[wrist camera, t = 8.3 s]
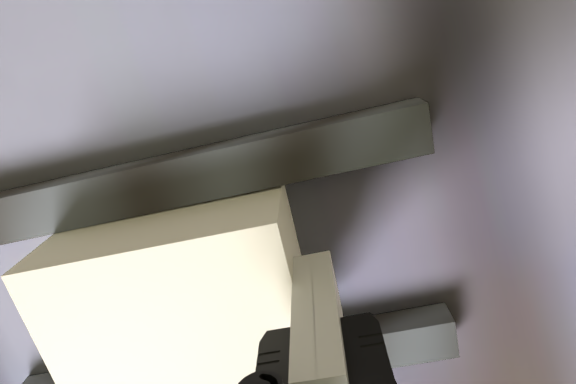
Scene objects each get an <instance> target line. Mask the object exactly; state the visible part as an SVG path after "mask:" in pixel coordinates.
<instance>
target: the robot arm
mask: <svg viewBox="0 0 576 384" xmlns="http://www.w3.org/2000/svg"><path fill="white" fill-rule="evenodd" d="M256 365H257V366H256V369H255V372H254V373H251V374H249V375H248V376H246V377H244V378H243V379H242V380H241V381H240V382H239V383H238V384H397V383H396V381H395V379H394V375H393V371H392V368H391V364H390V360H389V357H388V353H387V349H386V346H385V342H384V338H383V335H382V331H381V327H380V323H379V321H378V320H377V319H376V318H375V317H374V316H373V315H372V314H371V313H364V314H358V315H352V316H346V317H343V312H342V306H341V301H340V297H339V292H338V287H337V282H336V278H335V273H334V268H333V264H332V259H331V254H330V250H329V251H324V252H318V253H313V254H308V255H302V256H297V257H293V280H292V296H291V323H290V327H287V328H281V329H275V330H269V331H266V333H265V334H264V336H263V337H262V339H261V340H260V342H259V347H258V356H257V362H256Z"/></svg>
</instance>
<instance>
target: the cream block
mask: <svg viewBox="0 0 576 384" xmlns="http://www.w3.org/2000/svg"><path fill="white" fill-rule="evenodd" d="M297 256H301V252H300V247H299V243H298V239H297V235H296V230H295V226H294V222H293V218H292V214H291V209H290V205H289V201H288V197H287V193H286V188H285V185H282V186H277V187H273V188H268V189H263V190H259V191H254V192H249V193H244V194H240V195H235V196H230V197H225V198H221V199H216V200H211V201H207V202H202V203H197V204H192V205H188V206H183V207H178V208H174V209H169V210H164V211H159V212H155V213H150V214H145V215H140V216H136V217H131V218H126V219H122V220H117V221H112V222H107V223H103V224H98V225H93V226H88V227H84V228H79V229H74V230H70V231H65V232H60V233H55V234H53V235H52V236H51V237H49V238H48V239H47V240H46V241H44V242H43V243H42V244H41V245H39V246H38V247H37V248H36V249H34V250H33V251H32V252H31V253H29V254H28V255H27V256H26V257H24V258H23V259H22V260H21V261H20V262H18V263H17V264H16V265H15V266H13V267H12V268H11V269H10V270H8V271H7V272H6V273H5V274H3V275H2V276H1V278H2V280H3V282H4V284H5V286H6V288H7V290H8V292H9V294H10V296H11V298H12V299H13V301H14V303H15V305H16V307H17V309H18V311H19V313H20V315H21V317H22V319H23V321H24V323H25V325H26V327H27V329H28V331H29V333H30V335H31V337H32V339H33V341H34V343H35V345H36V347H37V349H38V351H39V353H40V355H41V357H42V359H43V361H44V363H45V365H46V367H47V369H48V370H49V372H50V374H51V376H52V378H53V380H54V382H55V384H238V383H239V382H240V381H241V380H242V379H243V378H244V377H246V376H248V375H249V374H251V373H254V372H255V369H256V366H257V365H256V362H257V356H258V347H259V342H260V340H261V339H262V337H263V336H264V334H265V333H266V331H269V330H275V329H281V328H287V327H290V323H291V296H292V280H293V257H297Z"/></svg>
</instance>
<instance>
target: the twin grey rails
mask: <svg viewBox="0 0 576 384" xmlns="http://www.w3.org/2000/svg"><path fill="white" fill-rule="evenodd" d="M433 153H434V145H433V137H432V128H431V120H430V112H429V104H428V102H426V101H424V100H422V99H420V98H418V97H417V98H413V99H408V100H404V101H399V102H395V103H391V104H386V105H382V106H377V107H373V108H368V109H364V110H360V111H355V112H351V113H346V114H342V115H337V116H333V117H329V118H324V119H320V120H315V121H311V122H306V123H302V124H298V125H293V126H289V127H284V128H280V129H275V130H271V131H266V132H262V133H258V134H253V135H249V136H244V137H240V138H235V139H231V140H227V141H222V142H218V143H213V144H209V145H204V146H200V147H196V148H191V149H187V150H182V151H178V152H173V153H169V154H165V155H160V156H156V157H151V158H147V159H142V160H138V161H133V162H129V163H125V164H120V165H116V166H111V167H107V168H102V169H98V170H94V171H89V172H85V173H80V174H76V175H71V176H67V177H63V178H58V179H54V180H49V181H45V182H40V183H36V184H32V185H27V186H23V187H18V188H14V189H9V190H5V191H1V192H0V245H3V244H8V243H13V242H18V241H22V240H27V239H32V238H37V237H41V236H46V235H51V234H55V233H60V232H65V231H70V230H74V229H79V228H84V227H88V226H93V225H98V224H103V223H107V222H112V221H117V220H122V219H126V218H131V217H136V216H140V215H145V214H150V213H155V212H159V211H164V210H169V209H174V208H178V207H183V206H188V205H192V204H197V203H202V202H207V201H211V200H216V199H221V198H225V197H230V196H235V195H240V194H244V193H249V192H254V191H259V190H263V189H268V188H273V187H277V186H282V185H287V184H292V183H296V182H301V181H306V180H311V179H315V178H320V177H325V176H329V175H334V174H339V173H344V172H348V171H353V170H358V169H362V168H367V167H372V166H377V165H381V164H386V163H391V162H396V161H400V160H405V159H410V158H414V157H419V156H424V155H429V154H433ZM373 316H374V317H375V318H376V319H377V320H378V321H379V323H380V327H381V331H382V335H383V338H384V342H385V346H386V349H387V353H388V357H389V360H390V364H391V368H397V367H403V366H409V365H415V364H422V363H428V362H434V361H440V360H446V359H452V358H458V357H460V356H459V348H458V340H457V332H456V324H455V320H454V319H453V317H452V315H451V313H450V311H449V309H448V308H447V306H446V304H445V303H440V304H434V305H428V306H423V307H417V308H411V309H406V310H400V311H394V312H389V313H383V314H377V315H373ZM22 384H55V382H54V380H53V378H52V376H51V374H50V372H49V373H43V374H37V375H32V376H28V377H27V378H26V380H25V381H24V382H23V383H22Z"/></svg>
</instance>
